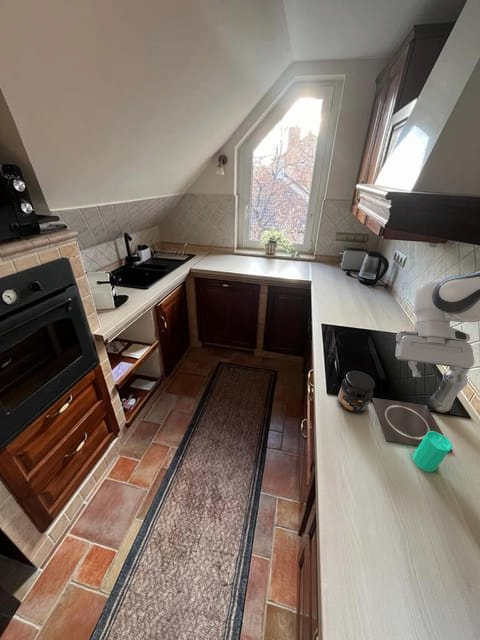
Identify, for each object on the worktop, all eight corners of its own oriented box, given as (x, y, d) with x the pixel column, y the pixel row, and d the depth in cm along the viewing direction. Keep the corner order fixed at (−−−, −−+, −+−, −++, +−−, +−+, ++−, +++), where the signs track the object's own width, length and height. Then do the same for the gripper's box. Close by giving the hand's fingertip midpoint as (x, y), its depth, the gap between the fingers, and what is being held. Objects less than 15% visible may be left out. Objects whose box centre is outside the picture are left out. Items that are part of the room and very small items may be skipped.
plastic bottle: (452, 412, 92) (480, 370, 81) (439, 417, 89) (467, 375, 79) (434, 399, 97) (459, 358, 87) (422, 403, 94) (446, 362, 84)
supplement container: (330, 397, 96) (337, 373, 90) (351, 389, 100) (360, 366, 94) (351, 419, 88) (360, 394, 82) (373, 410, 92) (383, 386, 85)
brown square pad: (425, 406, 94) (426, 405, 93) (451, 452, 78) (452, 450, 78) (371, 398, 96) (371, 397, 96) (386, 441, 81) (387, 440, 80)
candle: (407, 456, 77) (423, 430, 71) (421, 449, 79) (438, 424, 73) (426, 475, 72) (444, 450, 66) (440, 468, 74) (460, 443, 68)
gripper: (401, 327, 77) (401, 373, 73) (476, 335, 74) (480, 384, 71) (391, 332, 83) (391, 374, 79) (460, 339, 80) (463, 384, 77)
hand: (433, 379), depth 75 cm, fingers open, 8 cm apart
